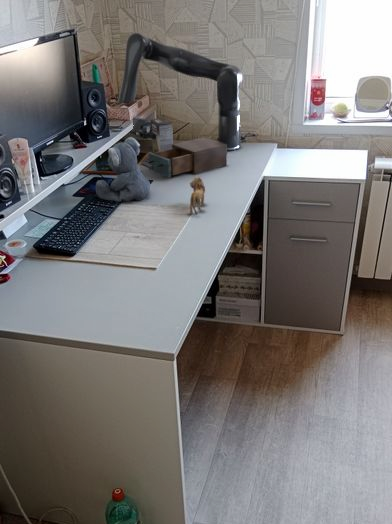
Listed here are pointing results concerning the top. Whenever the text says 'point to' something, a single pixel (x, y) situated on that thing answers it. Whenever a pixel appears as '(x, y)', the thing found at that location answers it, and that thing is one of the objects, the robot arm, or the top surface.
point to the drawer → (169, 162)
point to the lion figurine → (197, 194)
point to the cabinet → (205, 153)
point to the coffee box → (161, 134)
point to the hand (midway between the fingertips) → (163, 134)
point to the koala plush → (124, 174)
